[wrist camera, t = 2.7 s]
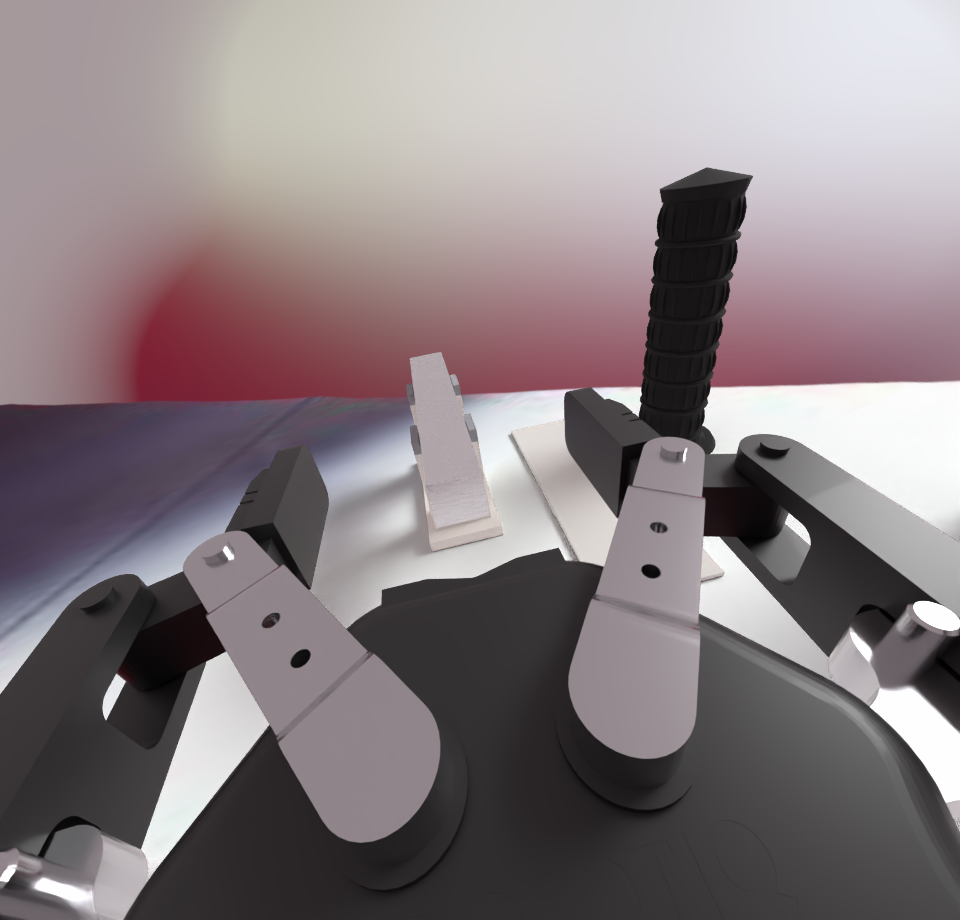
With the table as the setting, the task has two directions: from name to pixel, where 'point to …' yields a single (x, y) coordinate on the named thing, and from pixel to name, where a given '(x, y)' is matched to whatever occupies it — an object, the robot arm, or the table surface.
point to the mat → (576, 495)
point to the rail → (446, 446)
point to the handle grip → (690, 299)
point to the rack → (437, 536)
